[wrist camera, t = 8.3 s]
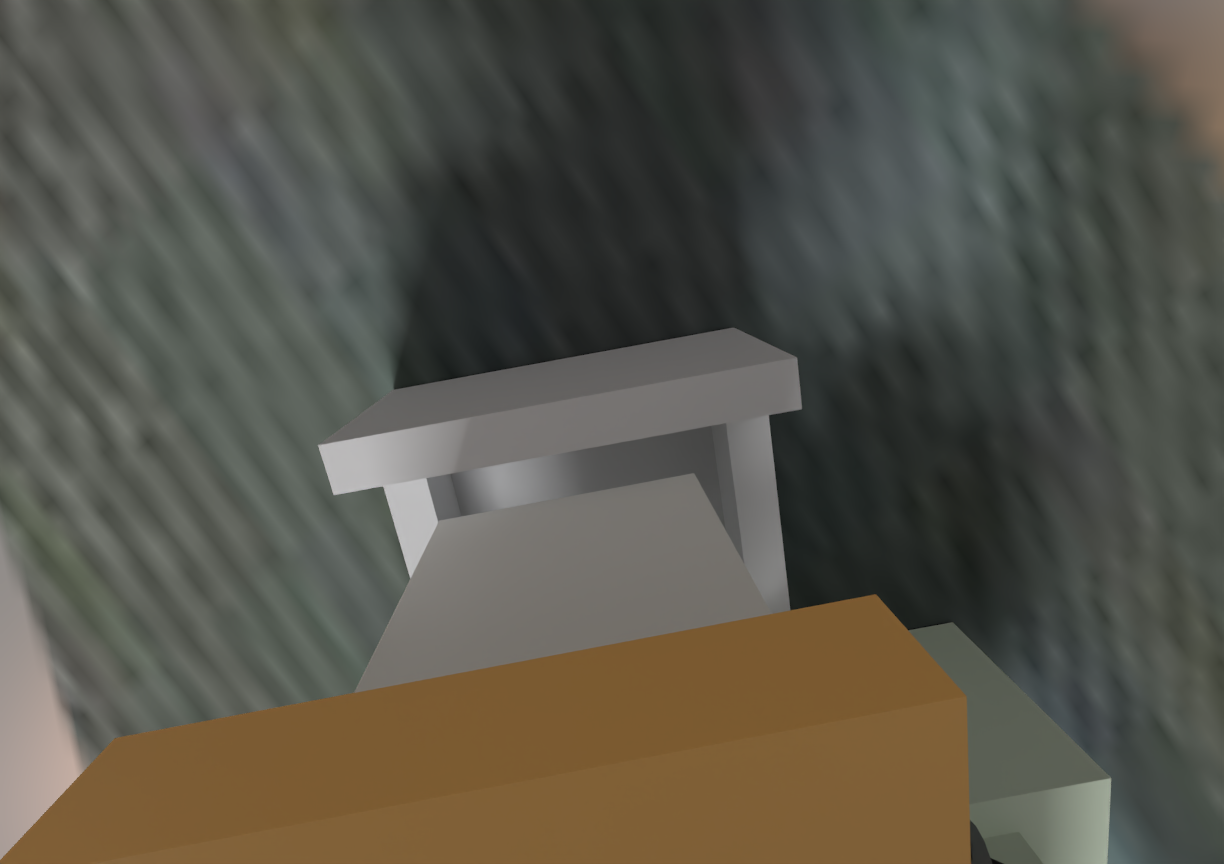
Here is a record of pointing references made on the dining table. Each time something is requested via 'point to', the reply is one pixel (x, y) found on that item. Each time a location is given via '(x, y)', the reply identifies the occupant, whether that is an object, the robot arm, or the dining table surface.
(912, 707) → the orange-topped white box
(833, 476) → the dining table surface
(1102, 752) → the dining table surface
